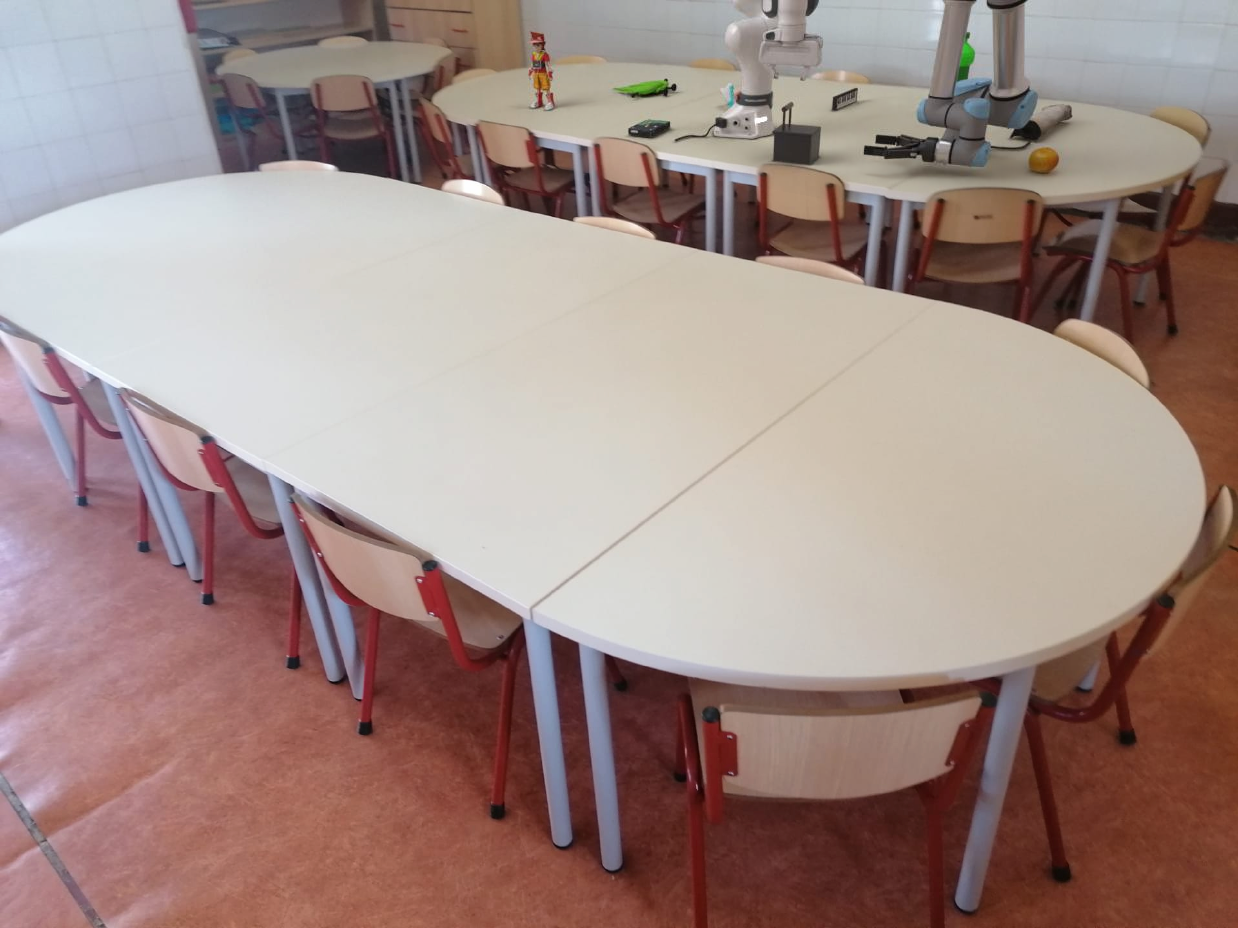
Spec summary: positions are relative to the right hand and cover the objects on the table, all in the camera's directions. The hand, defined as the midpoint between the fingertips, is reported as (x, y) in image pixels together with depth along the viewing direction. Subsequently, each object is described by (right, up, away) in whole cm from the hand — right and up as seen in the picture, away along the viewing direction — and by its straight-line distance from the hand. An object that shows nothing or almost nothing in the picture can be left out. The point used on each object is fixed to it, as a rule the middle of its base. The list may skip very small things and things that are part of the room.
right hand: (869, 144), depth 290 cm
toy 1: (-114, +49, +93) cm, 155 cm away
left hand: (-26, +22, +2) cm, 34 cm away
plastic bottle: (+51, +40, +65) cm, 92 cm away
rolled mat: (+68, +14, +27) cm, 74 cm away
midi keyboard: (+9, +40, +69) cm, 80 cm away
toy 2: (-72, +61, +107) cm, 143 cm away
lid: (-22, +8, +9) cm, 25 cm away
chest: (-21, 0, +14) cm, 26 cm away
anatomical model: (-34, +42, +76) cm, 94 cm away
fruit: (+51, -12, -10) cm, 53 cm away
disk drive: (-70, +23, +52) cm, 90 cm away
